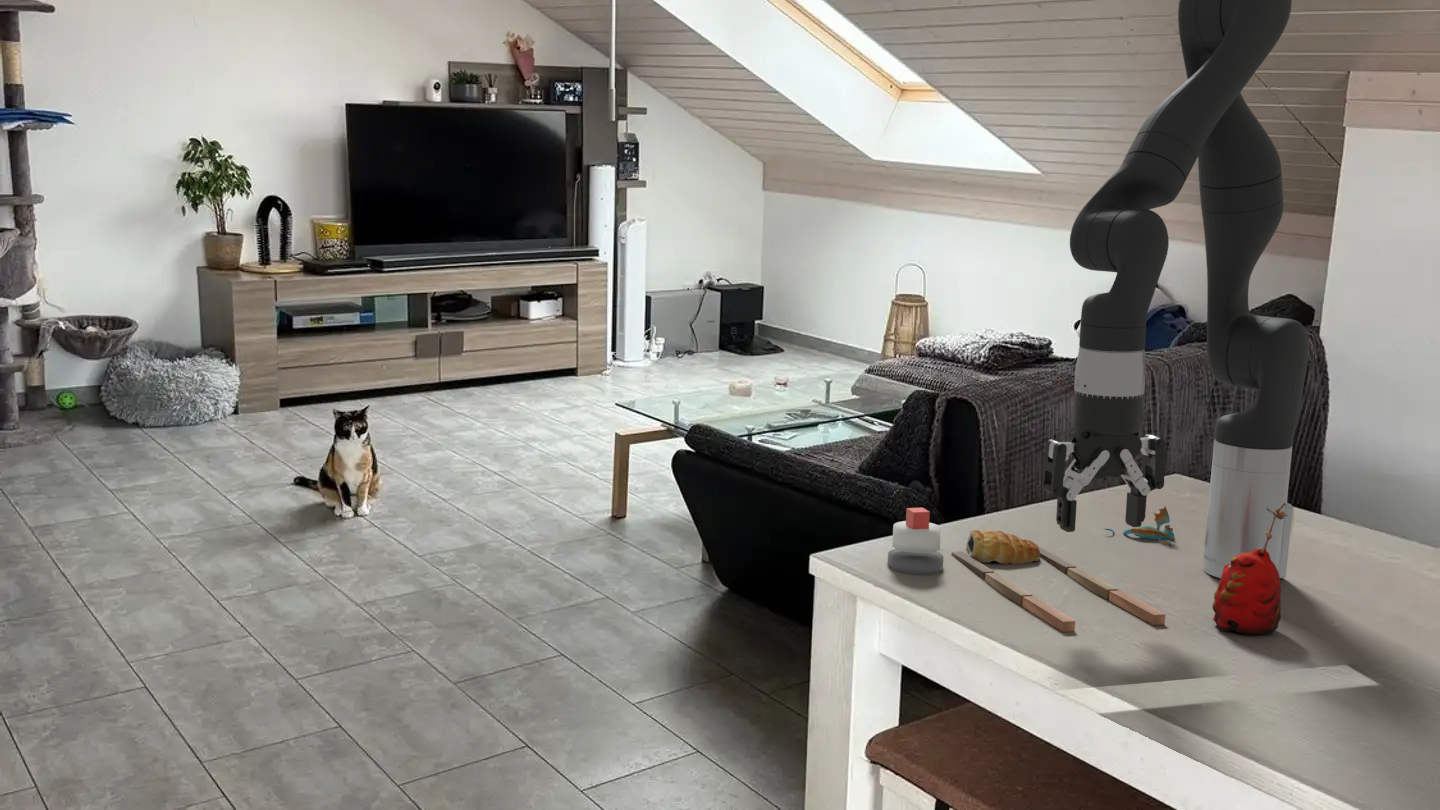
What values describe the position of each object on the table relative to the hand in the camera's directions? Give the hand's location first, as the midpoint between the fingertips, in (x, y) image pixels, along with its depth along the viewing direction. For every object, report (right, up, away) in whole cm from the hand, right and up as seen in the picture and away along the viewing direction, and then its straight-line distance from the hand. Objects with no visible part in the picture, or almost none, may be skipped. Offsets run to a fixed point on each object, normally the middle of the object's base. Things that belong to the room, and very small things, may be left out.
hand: (1100, 527), depth 148 cm
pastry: (-5, -8, +20) cm, 22 cm away
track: (-3, -9, +10) cm, 14 cm away
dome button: (-18, -4, +17) cm, 25 cm away
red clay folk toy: (+16, -11, -2) cm, 20 cm away
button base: (-19, -7, +17) cm, 26 cm away
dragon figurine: (+12, -5, +35) cm, 37 cm away
